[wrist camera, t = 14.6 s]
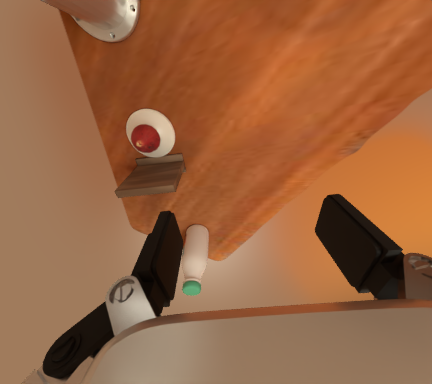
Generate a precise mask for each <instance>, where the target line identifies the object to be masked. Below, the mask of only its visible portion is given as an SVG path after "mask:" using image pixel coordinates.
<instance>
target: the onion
mask: <svg viewBox="0 0 432 384" xmlns="http://www.w3.org/2000/svg"><path fill="white" fill-rule="evenodd" d="M160 140H161V139H160V136H159V133H158V132H157V130H156V129H155V128H153V127H152V126H150V125H147V124H141V125H138V126H136V127H135V128H134V129H133V131H132V133H131V141H132V144H133V146H134V147H135V148H136V149H137V150H139V151H141V152H143V153H151V152H153V151H155V150H157V148H158V147H159V146H160Z"/></svg>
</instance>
